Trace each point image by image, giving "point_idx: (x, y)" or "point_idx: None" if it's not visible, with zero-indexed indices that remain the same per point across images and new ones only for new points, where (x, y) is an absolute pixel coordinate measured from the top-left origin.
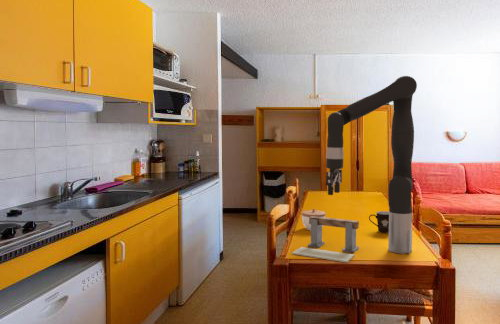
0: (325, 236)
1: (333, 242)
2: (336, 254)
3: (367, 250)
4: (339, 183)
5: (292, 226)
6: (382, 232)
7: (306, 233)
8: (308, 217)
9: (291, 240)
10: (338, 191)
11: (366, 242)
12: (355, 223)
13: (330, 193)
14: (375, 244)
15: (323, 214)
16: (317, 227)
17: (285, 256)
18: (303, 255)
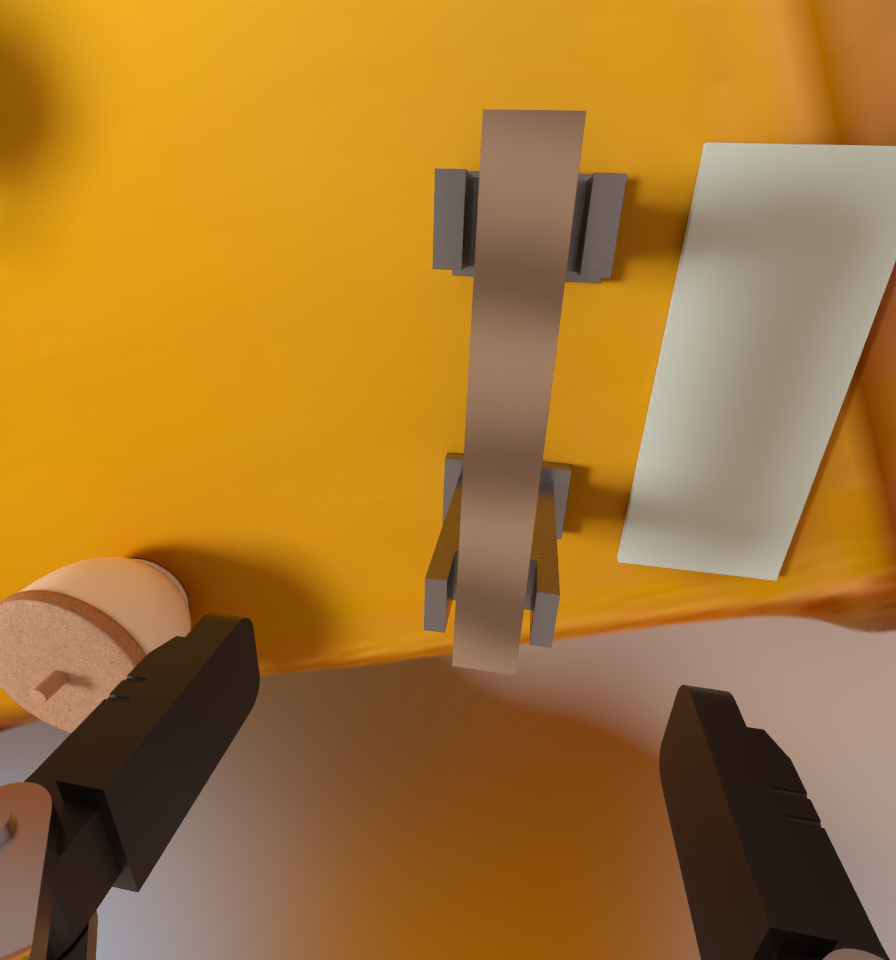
0: (263, 492)
1: (379, 407)
2: (743, 291)
3: (481, 77)
4: (50, 835)
5: None
6: None
7: (265, 607)
8: None
9: None
10: (234, 641)
11: (243, 161)
12: (581, 135)
13: (769, 759)
14: (259, 60)
15: (58, 604)
16: (550, 550)
17: (840, 595)
18: (799, 505)
